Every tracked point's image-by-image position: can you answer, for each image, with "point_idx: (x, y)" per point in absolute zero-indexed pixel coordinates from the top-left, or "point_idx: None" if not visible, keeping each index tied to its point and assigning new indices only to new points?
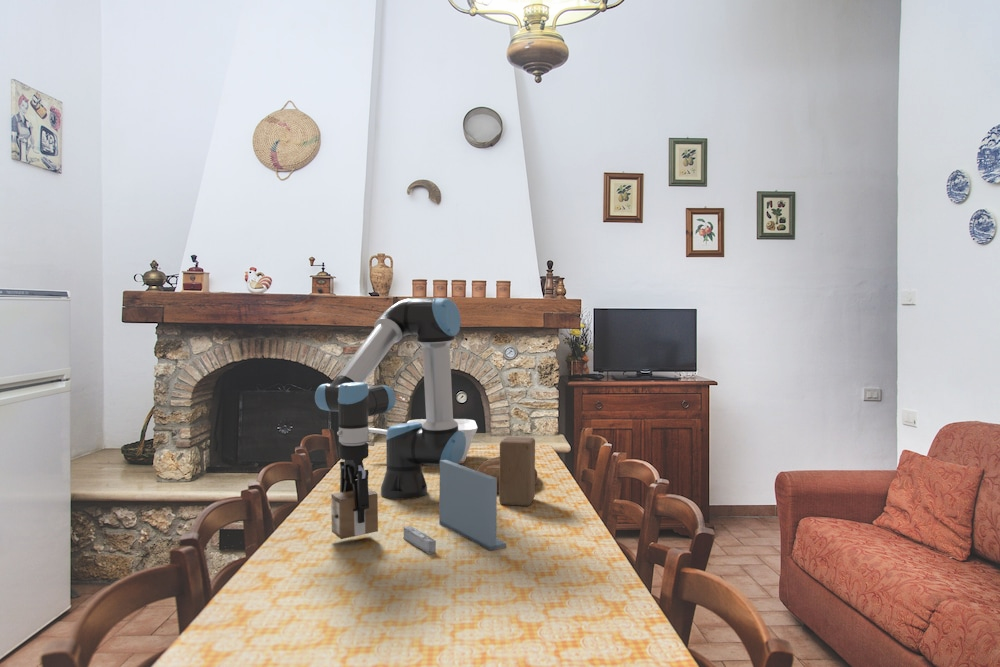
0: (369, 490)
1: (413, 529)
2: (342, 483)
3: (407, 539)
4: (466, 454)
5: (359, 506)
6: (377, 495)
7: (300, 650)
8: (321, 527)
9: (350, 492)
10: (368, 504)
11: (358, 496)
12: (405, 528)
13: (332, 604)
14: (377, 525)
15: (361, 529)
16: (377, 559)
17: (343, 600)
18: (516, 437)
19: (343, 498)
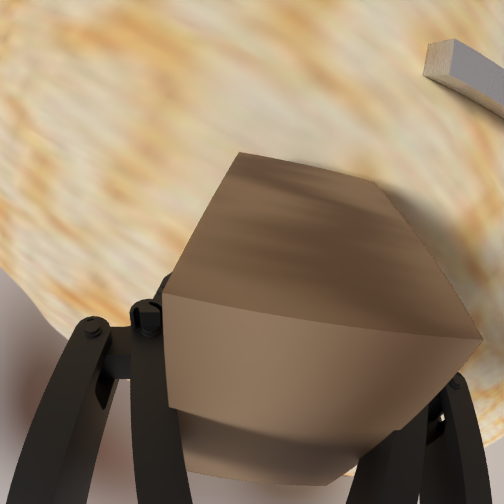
0: (312, 346)
1: (500, 79)
2: (94, 460)
3: (459, 91)
4: None
5: (427, 421)
6: (473, 323)
7: (499, 436)
8: (68, 242)
9: (223, 440)
10: (467, 395)
11: (427, 472)
12: (466, 84)
13: (490, 408)
14: (383, 195)
15: None
16: (480, 287)
17: (499, 398)
18: None
19: (318, 479)
